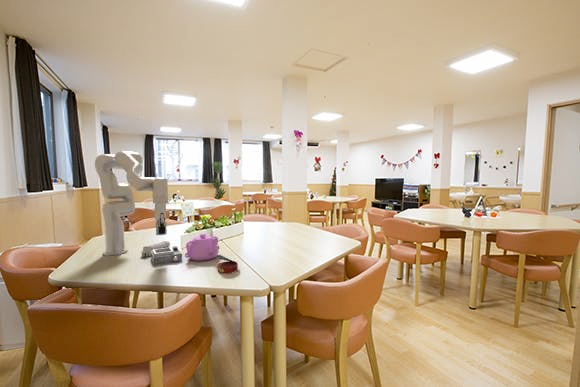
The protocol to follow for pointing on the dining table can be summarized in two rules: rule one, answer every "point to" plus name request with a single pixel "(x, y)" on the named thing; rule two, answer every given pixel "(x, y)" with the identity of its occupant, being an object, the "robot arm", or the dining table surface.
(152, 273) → the dining table surface
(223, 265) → the canned food
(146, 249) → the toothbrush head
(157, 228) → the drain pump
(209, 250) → the teapot
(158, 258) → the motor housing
